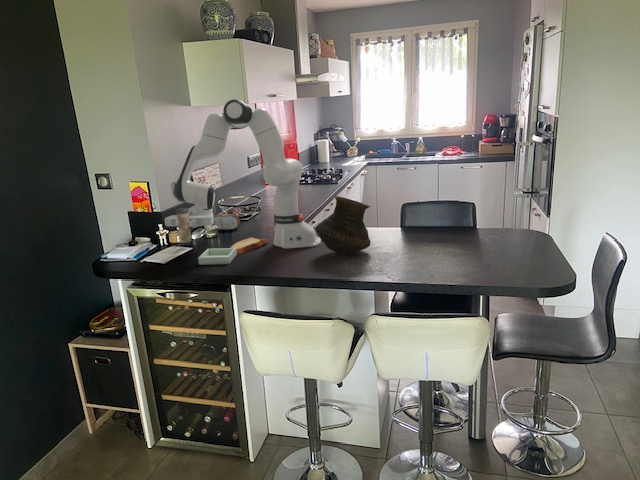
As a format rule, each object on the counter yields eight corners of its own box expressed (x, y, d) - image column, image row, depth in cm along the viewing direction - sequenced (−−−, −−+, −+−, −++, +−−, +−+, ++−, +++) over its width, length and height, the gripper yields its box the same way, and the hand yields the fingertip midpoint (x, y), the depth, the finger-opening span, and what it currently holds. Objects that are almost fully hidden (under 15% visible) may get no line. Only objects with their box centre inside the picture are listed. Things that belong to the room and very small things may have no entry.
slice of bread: (230, 255, 214) (229, 247, 213) (228, 245, 231) (228, 237, 230) (270, 251, 218) (269, 243, 217) (266, 241, 235) (265, 233, 234)
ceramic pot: (304, 255, 209) (301, 198, 202) (342, 243, 224) (341, 189, 217) (344, 266, 192) (342, 204, 185) (382, 252, 207) (382, 195, 200)
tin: (241, 228, 261) (239, 213, 259) (239, 229, 258) (238, 214, 256) (214, 228, 263) (212, 213, 261) (212, 230, 260) (210, 215, 258)
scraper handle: (191, 240, 205) (187, 207, 202) (188, 242, 202) (184, 209, 198) (183, 240, 206) (179, 208, 202) (180, 242, 202) (176, 209, 199)
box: (237, 254, 214) (236, 248, 213) (229, 263, 202) (228, 257, 201) (208, 255, 215) (207, 248, 214) (199, 264, 203) (198, 257, 202)
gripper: (170, 210, 214) (158, 218, 201) (215, 209, 213) (206, 216, 199) (172, 224, 216) (160, 232, 203) (217, 223, 214) (207, 231, 201)
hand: (183, 224), depth 201 cm, fingers closed on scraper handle, 3 cm apart
